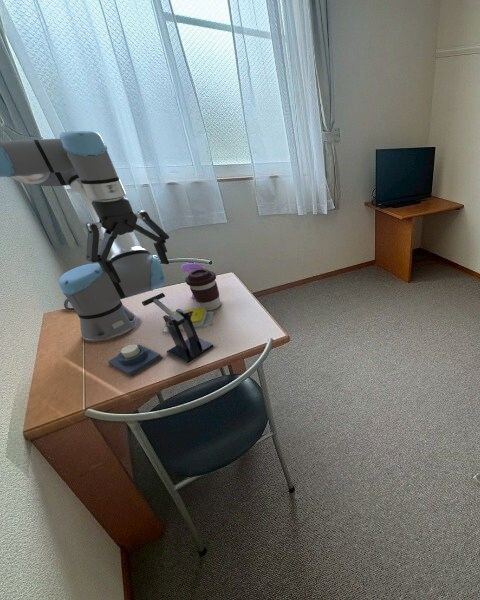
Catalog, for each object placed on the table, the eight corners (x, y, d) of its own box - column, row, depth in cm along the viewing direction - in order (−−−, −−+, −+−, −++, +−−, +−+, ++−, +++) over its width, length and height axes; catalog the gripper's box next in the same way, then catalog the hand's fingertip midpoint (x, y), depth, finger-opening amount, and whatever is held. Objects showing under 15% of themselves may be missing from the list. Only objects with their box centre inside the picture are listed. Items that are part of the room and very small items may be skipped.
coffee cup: (191, 307, 125) (178, 273, 117) (216, 297, 132) (205, 264, 124) (204, 316, 120) (192, 281, 112) (229, 305, 127) (219, 271, 119)
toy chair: (217, 286, 139) (207, 255, 131) (210, 297, 132) (199, 264, 124) (197, 287, 138) (186, 256, 130) (189, 298, 131) (176, 265, 123)
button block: (110, 365, 97) (104, 356, 95) (141, 348, 104) (136, 339, 102) (131, 377, 93) (126, 368, 91) (162, 359, 100) (157, 349, 98)
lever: (142, 304, 96) (141, 299, 95) (161, 295, 101) (161, 290, 99) (171, 329, 95) (171, 324, 94) (190, 319, 100) (190, 314, 98)
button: (121, 355, 96) (117, 350, 95) (135, 348, 99) (132, 342, 98) (128, 359, 95) (125, 354, 94) (142, 351, 98) (140, 346, 97)
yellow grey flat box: (165, 309, 116) (210, 303, 120) (169, 319, 118) (214, 312, 123) (157, 323, 109) (206, 316, 113) (162, 334, 111) (210, 326, 115)
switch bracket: (167, 354, 102) (149, 317, 94) (194, 339, 109) (179, 303, 101) (188, 364, 98) (171, 326, 91) (214, 348, 105) (200, 311, 98)
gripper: (56, 212, 71) (101, 293, 82) (166, 190, 91) (190, 258, 102) (39, 208, 74) (85, 287, 85) (149, 187, 93) (175, 254, 104)
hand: (142, 272), depth 93 cm, fingers open, 13 cm apart
